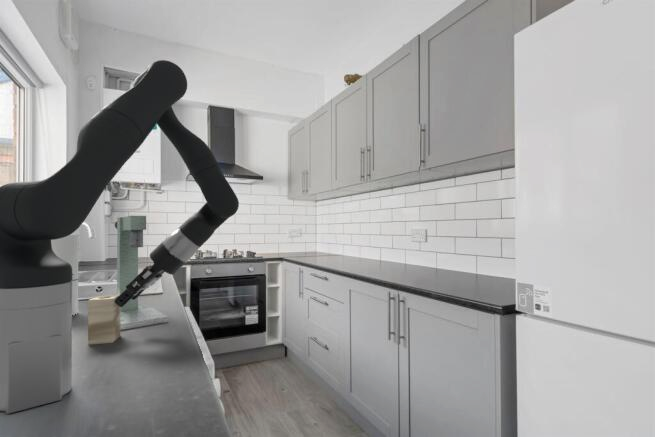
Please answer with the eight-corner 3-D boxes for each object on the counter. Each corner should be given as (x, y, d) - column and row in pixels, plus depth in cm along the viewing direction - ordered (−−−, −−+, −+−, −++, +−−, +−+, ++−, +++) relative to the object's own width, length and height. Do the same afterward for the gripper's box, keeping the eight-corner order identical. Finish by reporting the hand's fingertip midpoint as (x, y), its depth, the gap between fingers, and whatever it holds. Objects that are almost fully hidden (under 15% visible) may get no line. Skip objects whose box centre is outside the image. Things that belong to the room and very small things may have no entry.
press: (167, 321, 97) (167, 215, 98) (118, 330, 89) (118, 214, 90) (138, 304, 122) (138, 219, 123) (98, 310, 114) (98, 219, 115)
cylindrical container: (44, 316, 107) (45, 235, 108) (70, 311, 113) (71, 234, 114) (56, 318, 104) (57, 235, 104) (82, 313, 110) (83, 234, 111)
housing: (112, 342, 80) (112, 298, 80) (88, 344, 78) (88, 299, 79) (120, 336, 84) (120, 294, 85) (97, 338, 83) (97, 295, 84)
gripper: (170, 239, 92) (122, 285, 89) (156, 241, 78) (99, 295, 75) (191, 259, 93) (145, 305, 90) (181, 264, 79) (126, 318, 76)
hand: (124, 300), depth 83 cm, fingers open, 8 cm apart
